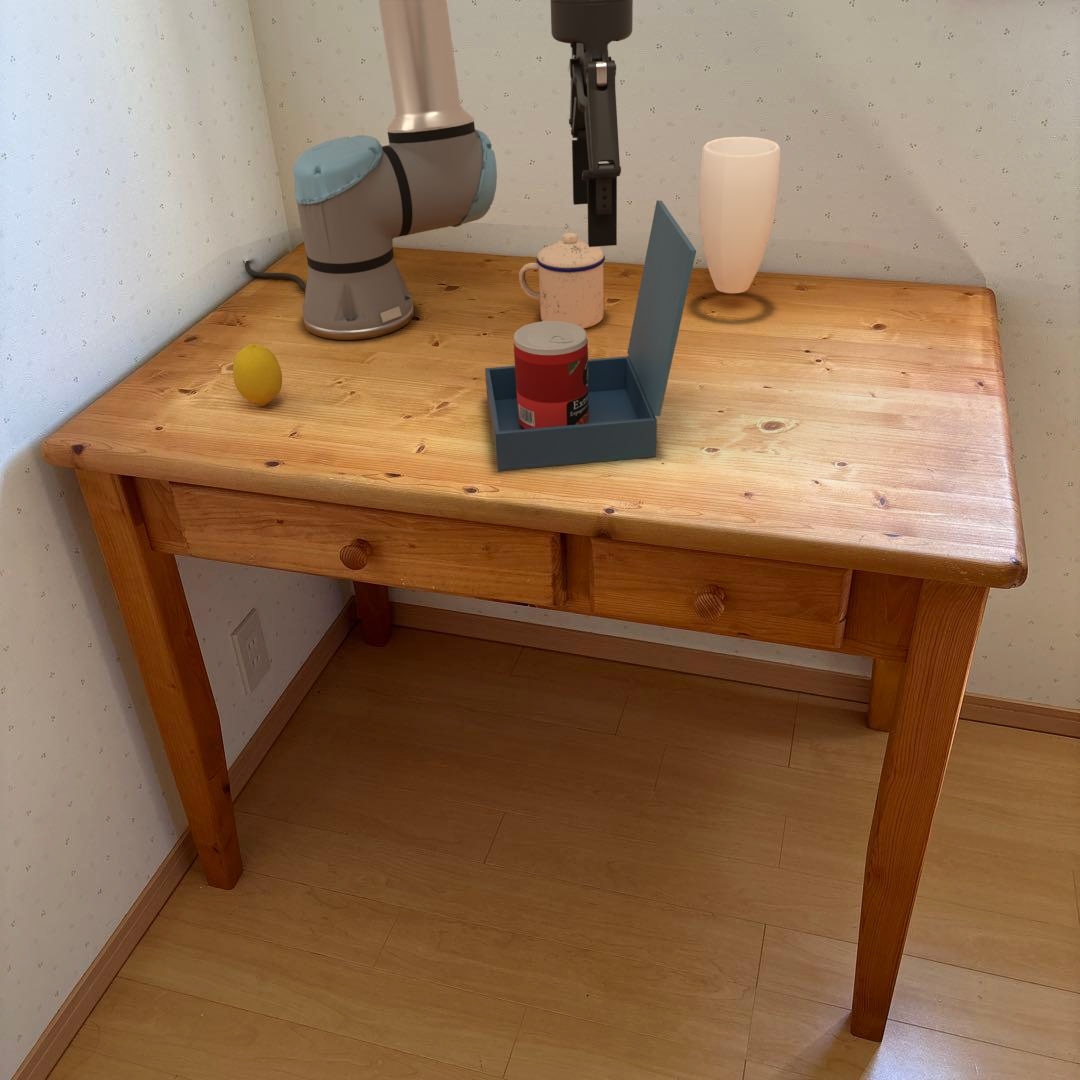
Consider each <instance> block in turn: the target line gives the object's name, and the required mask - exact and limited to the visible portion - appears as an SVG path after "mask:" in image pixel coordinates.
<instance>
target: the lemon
mask: <svg viewBox="0 0 1080 1080" xmlns="http://www.w3.org/2000/svg"><path fill="white" fill-rule="evenodd" d="M232 363H233V364H232V378H233V382H234V385H235V387H236V390H237V391H238V393H239V394H240V395H241V396H242V398H243V399H244V400H246V401H248V402H250V403H253V404H258V405H259V406H260V407H266V406H267V405H268V404H269V402H271V401H273V400H275V399H276V398H277V396H278V395H279V394H280V392H281V389H282V384H283V374H282V373H283V372H282V369H281V366H280V363H279V361H278V358H277V357H276V355H275V354H274V353H273V351H271V350H270V349H269V348H267V347H265V346H263V345H260V344H255V343H254V342H251V343H248V344H247V345H246V346H244V347H242V348H241V349H240V350H239V351H238V352H237V354H236V355H235V356H234V358H233V362H232Z"/></svg>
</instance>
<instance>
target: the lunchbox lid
mask: <svg viewBox="0 0 1080 1080" xmlns="http://www.w3.org/2000/svg"><path fill="white" fill-rule="evenodd" d="M696 254H697V249H696V248H695V246H694V245H693V243H692V242H691V240H690V239H689V238H688V236H687V235H686V233H685V232H684V230H683V229H682V228H681V226H680V225H679V223H678V222H677V220H676V219H675V218H674V216H673V215H672V213H671V211H670V210H669V209H668V207H667V206H666V204H665V203H664V202H663V200H659V199H658V200H656V203H655V207H654V213H653V218H652V223H651V229H650V234H649V238H648V244H647V248H646V254H645V259H644V264H643V269H642V275H641V279H640V285H639V289H638V295H637V300H636V305H635V310H634V316H633V321H632V325H631V332H630V337H629V342H628V347H627V356H629V358H630V360H631V363H632V365H633V367H634V369H635V372H636V374H637V376H638V379H639V381H640V383H641V386H642V388H643V390H644V393H645V395H646V397H647V400H648V402H649V404H650V407H651V409H652V411H653V413H654V416H656V417H661V413H662V409H663V408H662V407H663V405H664V400H665V396H666V395H665V394H666V392H667V391H666V390H667V386H668V381H669V377H670V372H671V368H672V363H673V358H674V354H675V349H676V345H677V340H678V336H679V331H680V328H681V327H680V326H681V322H682V318H683V315H684V314H683V313H684V308H685V304H686V300H687V296H688V290H689V286H690V283H691V277H692V274H693V273H692V272H693V267H694V264H695V259H696Z"/></svg>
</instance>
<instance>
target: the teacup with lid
mask: <svg viewBox="0 0 1080 1080" xmlns="http://www.w3.org/2000/svg"><path fill="white" fill-rule="evenodd" d="M605 255H606V254H605V253H604V251H603V250H602V248H601V247H600V246H598V247H589V246H588V242H585V241H584V240H581V239H579V236H578V234H577V233H575V232H566V233H564V234H563V235H562V240H561V239H560V240H559V241H557V242H555V243H554V244H553V243H552V244H550V245H547V246H545V247H543V248H541V250H540V251H539V252H538V253H537V257H536V262H528V263H526V264H524V265H523V266H522V267H521V268H520V270H519V271H518V281H519V286H520V287H521V290H522V291H523V293H524V294H525V295H526V296H528V297H529V298H531V299H533V300H536V301H537V300H538V301H539V304H540V305H539V306H540V307H539V309H540V319H541V322H542V321H562V322H568V323H572V324H575V325H578V326H580V327H582V328H583V329H584V330H585V329H587V328H591V327H594V326H595V325H597V324H599V323H600V322H601V321H602V320H603V318H604V316H605V315H604V314H605V313H604V311H605V310H604V309H605V308H604V307H605V303H604V302H605V301H604V262H605V260H606V256H605ZM529 270H534V271H536V270H537V271H538V283H539V284H538V285H539V292H538V291H535V290H533V289H532V288H531V287H530V286H529V284H528V282H527V278H526V272H527V271H529Z"/></svg>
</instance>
